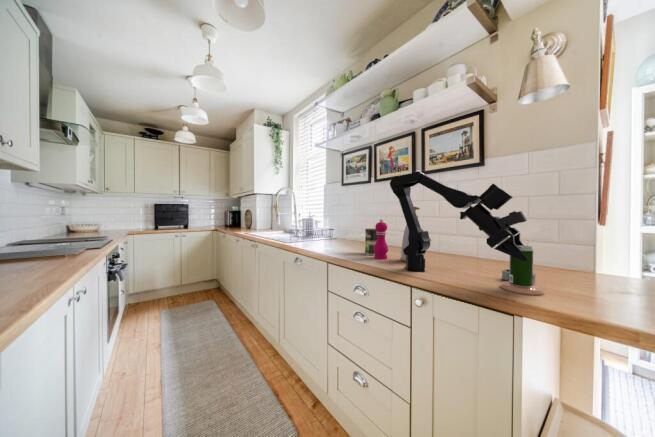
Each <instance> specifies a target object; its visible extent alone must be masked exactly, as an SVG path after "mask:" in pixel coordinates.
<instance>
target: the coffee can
mask: <svg viewBox="0 0 655 437" xmlns="http://www.w3.org/2000/svg"><path fill="white" fill-rule="evenodd" d="M364 230H365V234H364V235H365V238H364V239H365V240H364V242H365V244H364V246H365V247H364V254H365V255H367V256H373V257H375V254H376V253H375V252H374V246H375V244H376V242H377V234H376V232H377V230H376V229H375V228H365V229H364Z"/></svg>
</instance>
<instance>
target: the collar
mask: <svg viewBox="0 0 655 437" xmlns="http://www.w3.org/2000/svg"><path fill="white" fill-rule="evenodd" d="M509 269H510V268H505V269H502V270H501V279H502V280H503V281H505V282H506V281H509ZM535 283H536V273H534V272H533V285H535Z"/></svg>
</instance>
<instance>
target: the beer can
mask: <svg viewBox="0 0 655 437" xmlns="http://www.w3.org/2000/svg"><path fill="white" fill-rule="evenodd" d="M523 245H524V244H523ZM523 245H517V246H518V248H519V249H520V250H521V251H522V252H523V254H524V255H525V256H526V257H527V258H528V260H526V261H522V260H520V259H517V258H515V257H513V256H510V255H509V268H508V269H509V282H510V284H511V285H512V286H514V287H518V288H526V289H529V288H531V287H532V285H534V284H533V273H534V249H533V246H530V245H524V246H523Z"/></svg>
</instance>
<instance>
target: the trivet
mask: <svg viewBox="0 0 655 437" xmlns="http://www.w3.org/2000/svg"><path fill="white" fill-rule="evenodd" d="M500 288H501V289H503V290H506V291H509V292H511V293H515V294H521V295H527V296H543V295H544V294H545V289H544V288H543V287H541V286H538V285H535V284H533V285H532V287H531V288H529V289H526V288H518V287H514V286H512V285H511V284H510V282H509V281H506V280H505V281H501V282H500Z"/></svg>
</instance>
